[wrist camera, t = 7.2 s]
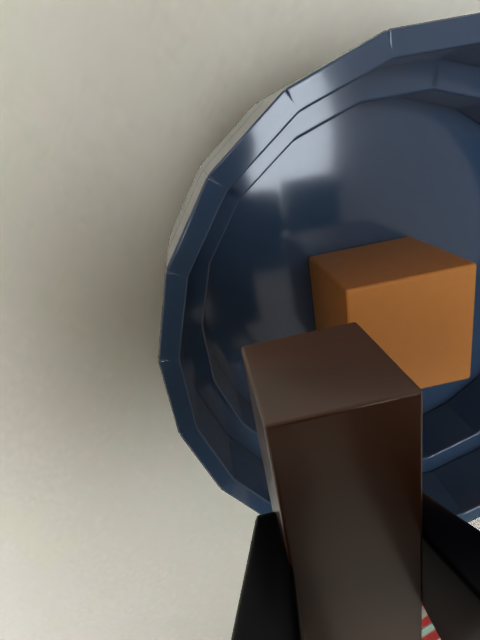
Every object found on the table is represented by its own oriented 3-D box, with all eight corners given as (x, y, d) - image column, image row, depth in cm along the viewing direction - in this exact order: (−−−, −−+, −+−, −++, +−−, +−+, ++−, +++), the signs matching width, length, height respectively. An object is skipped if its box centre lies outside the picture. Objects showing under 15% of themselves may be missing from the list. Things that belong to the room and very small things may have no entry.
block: (410, 329, 18) (471, 379, 14) (317, 349, 17) (354, 405, 14) (410, 235, 16) (478, 262, 12) (307, 256, 16) (345, 290, 12)
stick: (372, 569, 11) (422, 680, 8) (288, 590, 11) (316, 708, 8) (356, 320, 8) (424, 390, 6) (240, 345, 8) (263, 427, 6)
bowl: (535, 408, 21) (635, 483, 16) (211, 482, 20) (221, 583, 15) (588, 17, 14) (779, -41, 10) (113, 103, 14) (79, 83, 9)
